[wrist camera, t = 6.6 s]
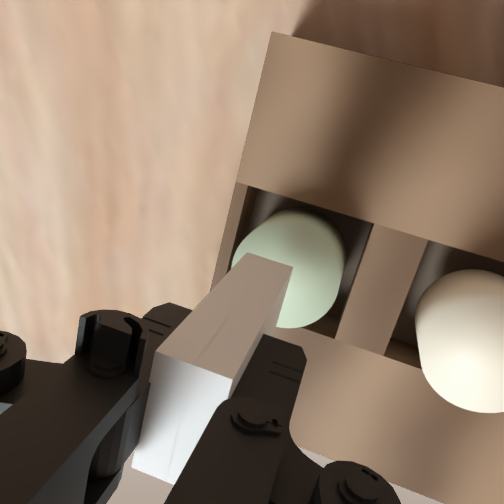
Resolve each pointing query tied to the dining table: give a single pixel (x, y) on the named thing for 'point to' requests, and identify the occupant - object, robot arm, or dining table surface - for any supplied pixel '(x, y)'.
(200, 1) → the dining table surface
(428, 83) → the wooden egg tray
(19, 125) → the dining table surface
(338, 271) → the pale green egg
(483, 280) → the white egg
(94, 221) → the dining table surface
